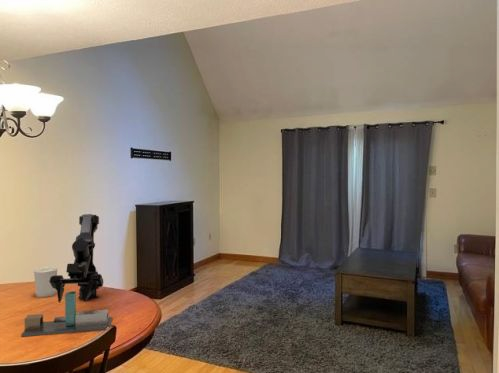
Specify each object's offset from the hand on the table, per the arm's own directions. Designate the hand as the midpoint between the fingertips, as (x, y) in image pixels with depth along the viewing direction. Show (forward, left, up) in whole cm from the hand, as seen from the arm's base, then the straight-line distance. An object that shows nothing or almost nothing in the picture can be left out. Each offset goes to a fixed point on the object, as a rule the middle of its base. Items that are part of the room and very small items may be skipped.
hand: (72, 301), depth 140 cm
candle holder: (-11, -46, -9) cm, 48 cm away
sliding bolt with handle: (-2, +3, -8) cm, 9 cm away
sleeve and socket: (+1, +1, -9) cm, 9 cm away
